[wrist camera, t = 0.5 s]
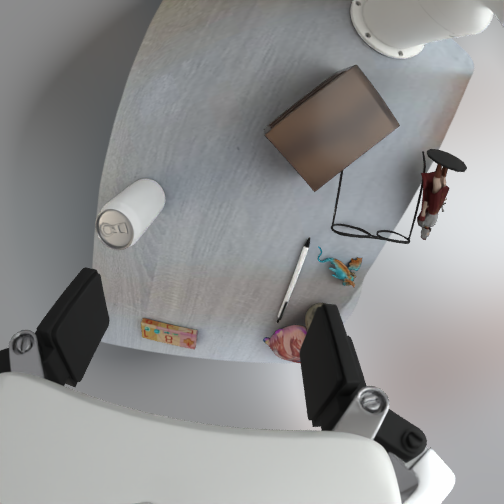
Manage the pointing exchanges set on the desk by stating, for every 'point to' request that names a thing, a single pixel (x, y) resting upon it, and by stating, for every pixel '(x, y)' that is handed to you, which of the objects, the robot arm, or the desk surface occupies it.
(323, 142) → the shelf
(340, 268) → the dragon figurine
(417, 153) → the desk surface
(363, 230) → the glasses
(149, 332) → the toy
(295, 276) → the pen
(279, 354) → the anatomical model
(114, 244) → the can
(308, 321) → the decorative egg
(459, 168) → the figurine
